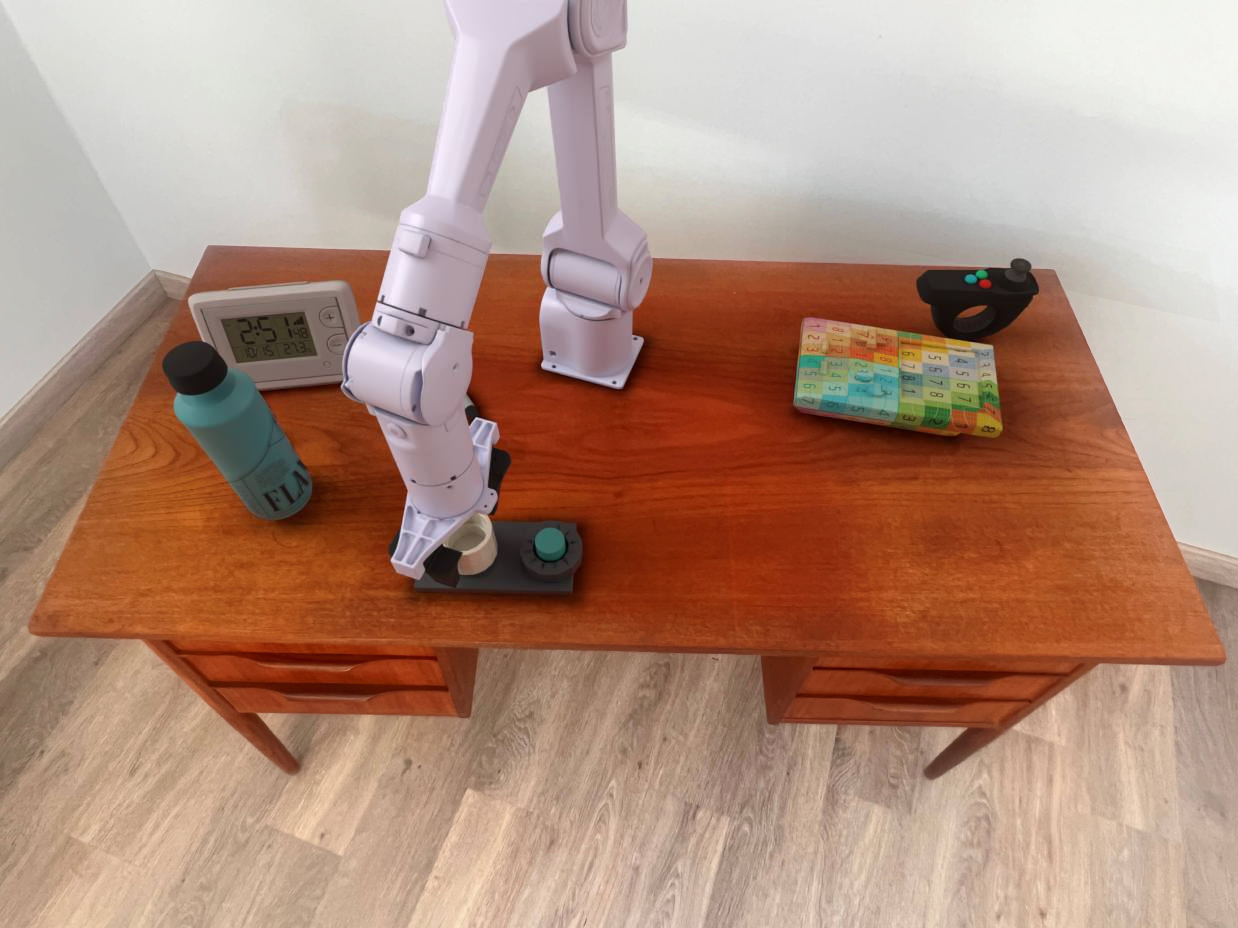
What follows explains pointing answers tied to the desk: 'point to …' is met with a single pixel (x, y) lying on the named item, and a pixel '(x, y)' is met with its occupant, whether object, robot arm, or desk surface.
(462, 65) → the robot arm
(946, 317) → the controller
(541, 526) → the grey dial base
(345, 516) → the desk surface
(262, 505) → the beverage bottle
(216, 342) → the digital clock
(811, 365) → the puzzle game
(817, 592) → the desk surface
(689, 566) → the desk surface
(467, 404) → the pen
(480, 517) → the white cup
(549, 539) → the tare button
